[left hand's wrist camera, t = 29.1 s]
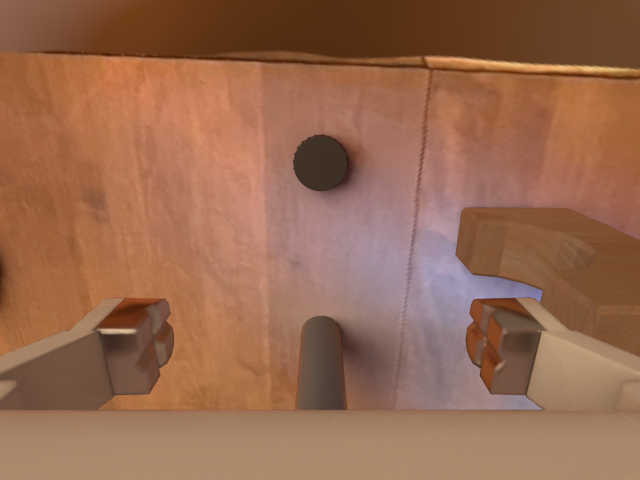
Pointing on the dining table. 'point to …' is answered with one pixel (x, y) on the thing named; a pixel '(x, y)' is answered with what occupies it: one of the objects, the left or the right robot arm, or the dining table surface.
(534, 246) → the decorative block
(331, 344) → the grey bottle
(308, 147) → the lid
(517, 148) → the dining table surface
